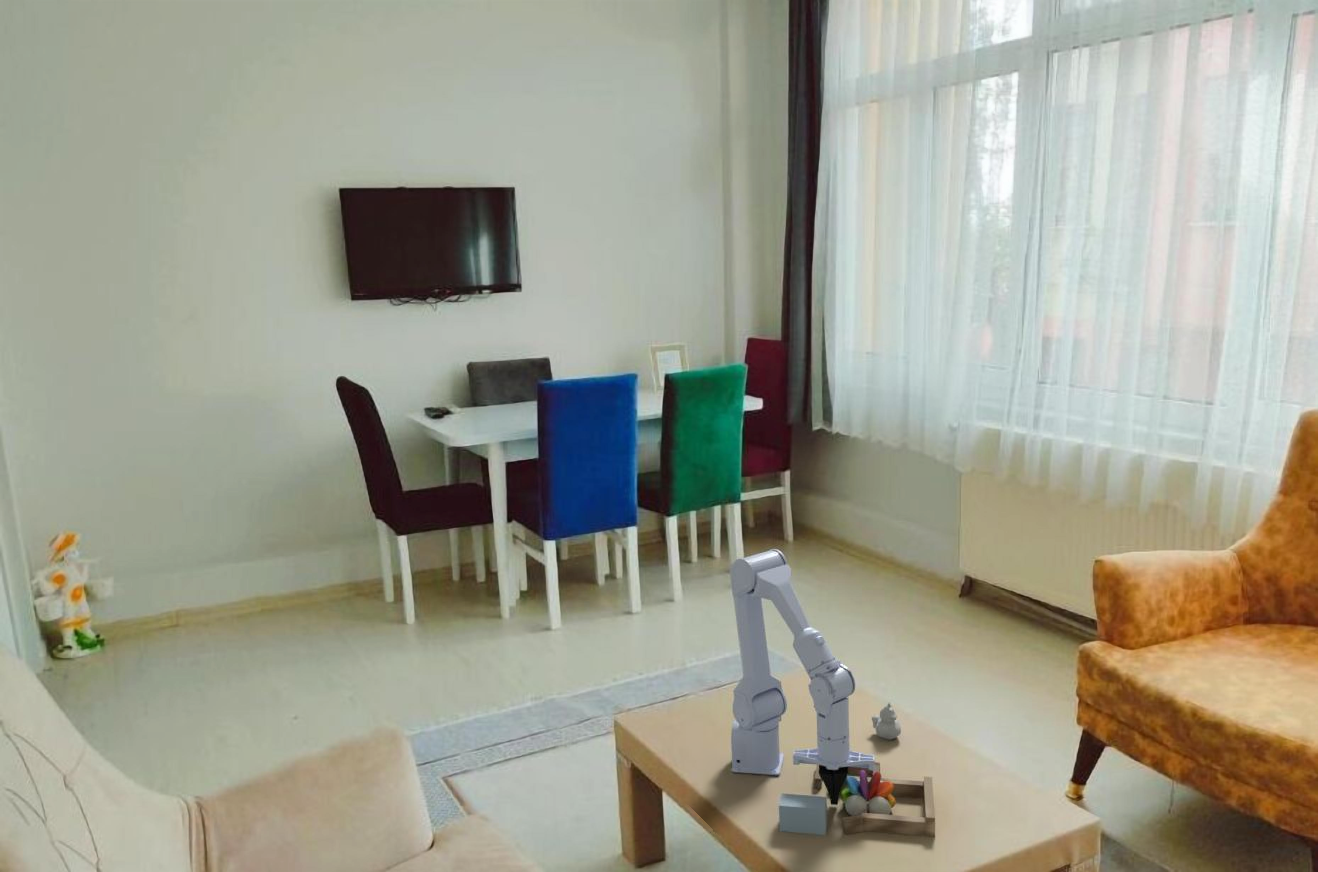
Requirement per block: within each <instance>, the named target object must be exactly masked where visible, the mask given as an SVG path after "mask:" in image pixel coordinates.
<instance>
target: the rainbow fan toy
mask: <svg viewBox="0 0 1318 872" xmlns="http://www.w3.org/2000/svg"><path fill="white" fill-rule="evenodd" d="M858 775H859V777H860V780H858V779H856V778H854V777H852V776H853V775H847V776H848V777H847V778H846V780H845V782H846V787H845V789H844V790H843V791H842V792H840V799H841V801H842V802H843V803H844V807H845V810H846V812H847V813H848V814H849V815H850V817H851V816H857V815H861V812H862V813H874V814H886V815H891V811H892V808H895V806H896V799H895V796H892V795H891V792H892V791H893V789H894V786H893V784H892V783H891V782H888V781H885V782H883V781H880V780H881V778H882V774H881V772H880V773H879V772H876V773H874V775H872V776H871V780H870V782H869V783H868V780H867V777H868V776H867V775H868V774H866V772H865V771H864V770H861V771H860V773H859V774H858ZM868 800H869V801H868Z"/></svg>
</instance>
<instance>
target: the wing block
mask: <svg viewBox="0 0 1318 872" xmlns="http://www.w3.org/2000/svg"><path fill="white" fill-rule="evenodd" d="M827 800H828V798H827V796H821V795H806V794H795V793H782V792H781V794H780V799H779V803H778V820H779V822H778V823H779V824H778V825H779V832H789V833H791V832H792V833H799V834H811V835H821V836H826V834H827V828H828V827H827V826H828V805H827V804H828V803H827Z"/></svg>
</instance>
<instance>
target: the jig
mask: <svg viewBox="0 0 1318 872" xmlns="http://www.w3.org/2000/svg"><path fill="white" fill-rule="evenodd" d="M815 767H816V769H815V774H814V788H815V789H822V787H823V780H822V779H821V777H820V775H819V765H817V764H816V766H815ZM861 770H864V771H865V772H866V775H872V776H873V775H874V773H876V772H879V773H880V774H881V762H880V761H875V770H869V769H868V768H859V767H848V774H858V775H859V773H860V771H861ZM848 776H849V775H847V777H848ZM851 776H852V777H854V778H856V779H858V780H860V776H857V775H856V776H855V775H854V776H853V775H851ZM872 776H871V777H868V776H867V780H868V783H869V782H870V780H871V778H872ZM880 781H883V782H885V781H888V782H891V783H892V784H893V786H894V789H893V791H892V792H891V795H892V796H893V797H906V798H919V799H923V803H924V804H923V805H924V817H921V816H910V815H896V814H889V815H886V814H874V813H870V812H866V813H862V812H861V815H857V816H851V815H850V816H846V817H843V818H842V825H843V826H842V828H843V829H842V831H843V832H844V834H845V835H852V834H857V833H864V832H865V831H866V832H877V833H888V834H899V835H901V834H902V835H912V836H923V837H925V836H926V837H933V838H934V837H936V813H935V798H934V796H935V795H934V785H933V777H932V776H923V780H912V779H911V780H909V779H898V778H897V779H895V778H884V777H883V778H882V777H881V780H880ZM845 787H846V782H845V781H844V783H843V786H842V788H841V791H840V793H841V792H842V791H843V790H844V789H845Z"/></svg>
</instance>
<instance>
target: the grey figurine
mask: <svg viewBox="0 0 1318 872" xmlns="http://www.w3.org/2000/svg"><path fill="white" fill-rule="evenodd" d="M897 718H898V714H897V712H896V710H895V709H894V707H892V705H891V703H890V701H889V702H888V703H887V705H886V706H884V707H883V708H881V710H880V711H879V715H877V714H874V715H872V716H871V721H872V728H873V729H875V733H876V735H877V736H878V737H880V738H882V739H885V740H888V741H889V740H894V739H897V737H899V735H901V733H902V729H901V728H902V727H901V725H900V722H899V720H898V719H897Z"/></svg>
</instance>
